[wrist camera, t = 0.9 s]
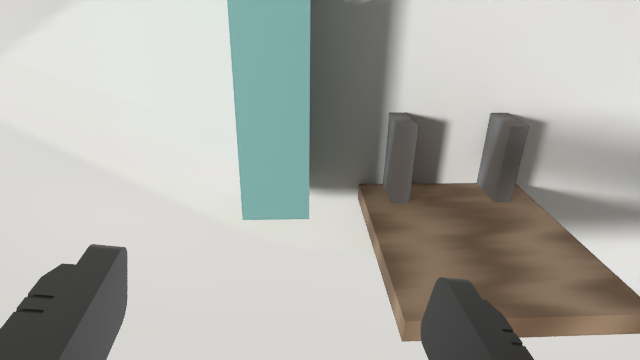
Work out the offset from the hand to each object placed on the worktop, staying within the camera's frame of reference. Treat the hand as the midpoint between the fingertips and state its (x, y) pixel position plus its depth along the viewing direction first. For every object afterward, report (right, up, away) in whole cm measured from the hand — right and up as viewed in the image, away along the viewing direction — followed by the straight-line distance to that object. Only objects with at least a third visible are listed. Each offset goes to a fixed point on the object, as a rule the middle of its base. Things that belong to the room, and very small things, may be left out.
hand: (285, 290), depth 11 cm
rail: (-2, +10, +17) cm, 20 cm away
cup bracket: (+10, +4, +20) cm, 23 cm away
